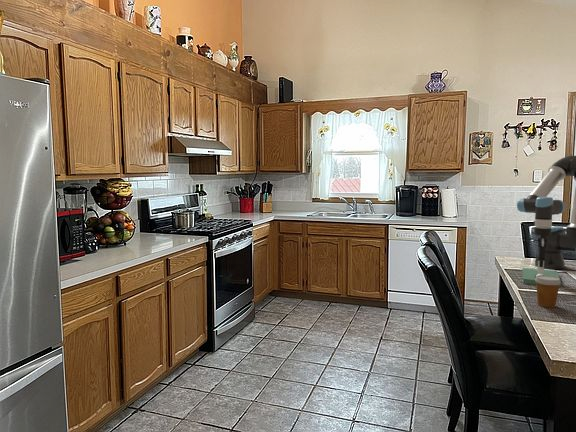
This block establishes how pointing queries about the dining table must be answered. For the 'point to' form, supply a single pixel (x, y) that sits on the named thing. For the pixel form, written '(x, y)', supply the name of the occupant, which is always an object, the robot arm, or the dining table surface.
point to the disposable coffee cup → (547, 290)
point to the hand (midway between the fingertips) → (540, 272)
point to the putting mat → (530, 275)
